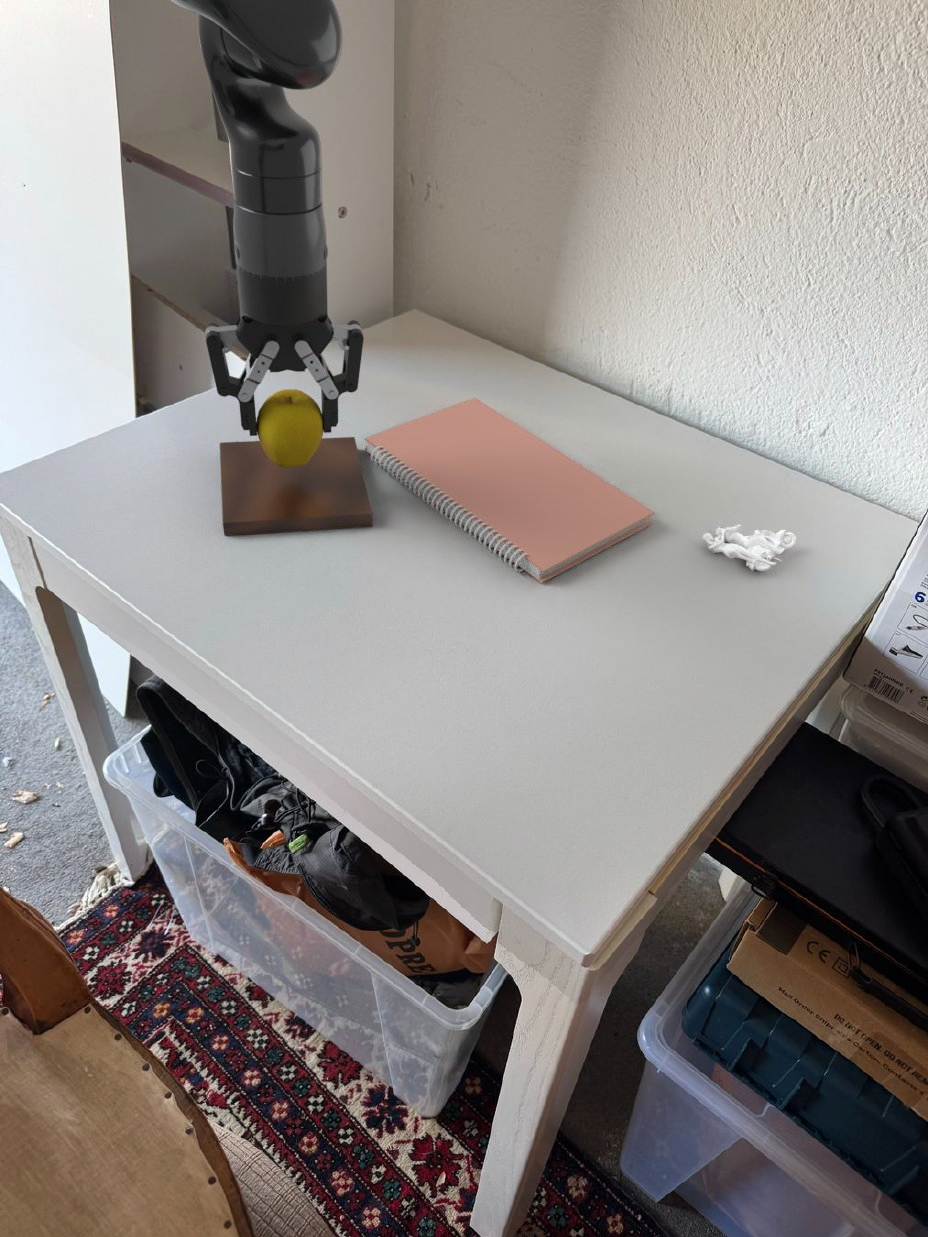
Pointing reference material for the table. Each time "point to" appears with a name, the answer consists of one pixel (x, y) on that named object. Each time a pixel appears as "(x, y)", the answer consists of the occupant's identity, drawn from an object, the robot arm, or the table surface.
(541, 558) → the notebook
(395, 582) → the table surface
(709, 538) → the figurine
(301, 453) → the apple
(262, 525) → the cutting board
